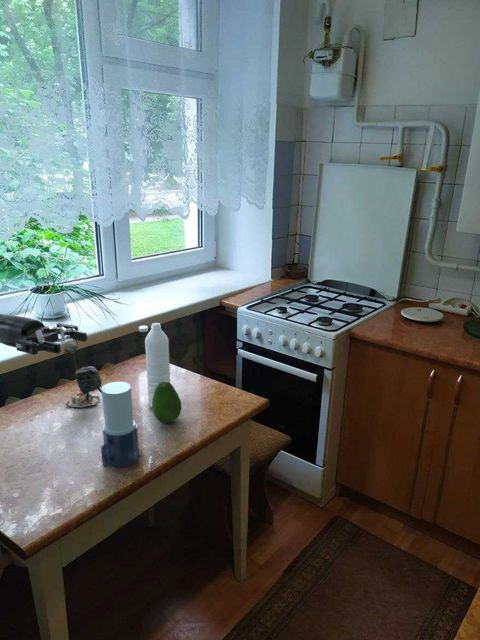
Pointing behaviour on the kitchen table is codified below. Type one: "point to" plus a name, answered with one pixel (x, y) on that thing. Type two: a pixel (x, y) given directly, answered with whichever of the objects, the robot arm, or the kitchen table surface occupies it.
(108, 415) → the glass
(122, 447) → the navy pipe fitting
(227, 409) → the kitchen table surface
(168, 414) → the avocado
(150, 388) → the water bottle
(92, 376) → the plant with pod
